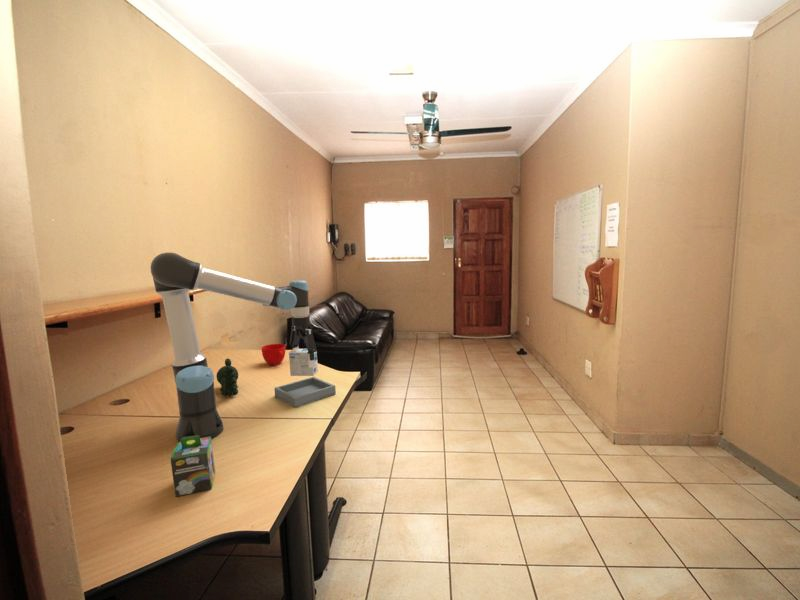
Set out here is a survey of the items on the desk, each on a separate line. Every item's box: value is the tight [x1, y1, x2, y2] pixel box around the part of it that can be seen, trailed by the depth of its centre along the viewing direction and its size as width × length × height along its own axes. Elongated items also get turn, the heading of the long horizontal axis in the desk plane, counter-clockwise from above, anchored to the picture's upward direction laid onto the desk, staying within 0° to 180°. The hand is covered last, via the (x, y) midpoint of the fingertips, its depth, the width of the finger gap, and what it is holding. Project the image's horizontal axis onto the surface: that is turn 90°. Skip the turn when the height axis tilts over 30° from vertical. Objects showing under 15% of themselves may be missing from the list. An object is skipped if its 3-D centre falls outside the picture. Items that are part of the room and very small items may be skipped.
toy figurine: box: [216, 357, 239, 397], centre depth 179 cm, size 9×19×25 cm
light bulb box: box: [288, 348, 319, 377], centre depth 171 cm, size 11×7×11 cm, turn 84°
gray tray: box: [274, 376, 336, 408], centre depth 173 cm, size 20×18×4 cm
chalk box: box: [170, 435, 216, 498], centre depth 108 cm, size 9×9×15 cm
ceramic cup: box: [261, 343, 286, 366], centre depth 220 cm, size 13×17×10 cm
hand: (303, 364), depth 172 cm, fingers closed on light bulb box, 12 cm apart
